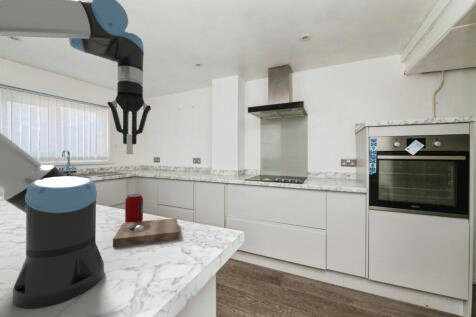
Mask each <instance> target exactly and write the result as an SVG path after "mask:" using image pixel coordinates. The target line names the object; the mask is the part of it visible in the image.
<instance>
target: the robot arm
mask: <svg viewBox="0 0 476 317" xmlns="http://www.w3.org/2000/svg"><path fill="white" fill-rule="evenodd" d="M128 25H129V16H128V14H127V12H126V10H125V8H124V7H123V5H121V3H120V2H118V1H117V0H92V1H91V2H90V1H85V0H0V37H21V38H22V37H23V38H25V37H26V38H27V37H28V38H49V39H50V38H56V39H68V41H69V42H68V43H69V45H70V46H71V48H73V49H74V50H78V51H81V52H82V53H85V54H90V55H92V56H96V57H100V58H103V59H106V60H109V61H112V62H116V63H117V83H116V84H117V86H116V87H117V92H116V93H117V94H116V97H115V98H114V100H112V101H107V105H108V107H109V109H110V111H111V114H112V117H113V118H112V119H113V121H114V125H115V129H116V131H117V133H121V134H122V143H123V144H124V145H126V155H133V154H134V145H137V141H138V139H137V136H138V135H139V134H140V135H141V134H143V131H144V129H145V125H146V121H147V118H148V114H149V112H150V111H151V110H152V107H151V105H148V104H146V102H145V100H144V86H143V84H144V56H145V53H144V43H143V40H142V39H141V37H139V35H137V34H135V33H133V32H128V31H126V30H127V27H128ZM118 106H119V107H120V109H121V110H122V125H121V121H120V120H121V119H120V117H119V112H118V110H117V108H118ZM141 108H142V110H143V111H142V115H141V117H140V122H139V125H138V111H140V110H141ZM130 112H131V134H129V114H130ZM0 188H1V189H2V190H3V191H4V196H3V199H4V201H6V202H7V203H8V204H11V205H12V206H14V207H15V208H17V209H18V210H20V211H22V212H23V213H25V214H26V217H25V220H26V221H25V222H26V223H25V224H26V226H25V227H26V228H25V230H26V231H25V232H26V233H25V234H26V235H25V239H26V240H25V259H24V262H23V264H22V266H21V269H20V271H19V273H18V276H17V278H16V280H15V283H14V285H13V287H12V302H13V305H15V306H16V307H19V308H24V309H35V308H42V307H48V306H51V305H55V304H60V303H62V302H65V301H68V300H70V299H72V297H73V298H75V297H77V296H79V295H81V294H83V293H86V291H88V290H90V289H92V288H93V287H94V286H96V285H97V284H98V283H99V282H100V281H101V279H102V278H103V277H104V275H105V263H104V262H105V261H104V259H103V257H102V255H101V252H100V250H99V247H98V245H97V241H96V235H97V234H96V233H97V231H96V227H97V226H96V225H97V221H96V220H97V197H98V192H97V186H96V182H95V181H93V180H92V179H90V178H87V177H80V176H67V174H65V173H63V171H62V170H60V169H58V168H57V167H56V166H55V165H53V164H52V165H51V164H50V165H48V164H46V165H45V164H41V163H40V162H39V161H38V160H37V159H35V158H34V157H33V156H31V155H30V154H29V153H27V151H25V150H24V149H22V148H21V147H20V146H19V145H18V144H16V143H15V142H13V141H12V140H11V139H9V137H7V136H6V135H5V134H3V133H2V132H1V131H0ZM67 299H68V300H67Z"/></svg>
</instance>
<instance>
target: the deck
mask: <svg viewBox="0 0 476 317" xmlns="http://www.w3.org/2000/svg"><path fill="white" fill-rule="evenodd" d="M138 225H142V226H143V227H144V229H142V230H139V231H134V229H135V227H136V226H138ZM179 236H180V230H179V224H178V220H177V217H175V218H167V219H166V218H164V219H163V218H162V219H153V220H152V219H151V220H143V221H140V222H128V223H125V222H123V223H122V224H121V225H120V227H119V228H118V230H117V231H116V233H115V235H114V237H113V239H112V248H115V247H124V246H132V245H141V244H148V243H155V242H164V241H165V242H166V241H172V240H179V239H180V237H179Z"/></svg>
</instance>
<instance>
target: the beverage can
mask: <svg viewBox="0 0 476 317" xmlns="http://www.w3.org/2000/svg"><path fill="white" fill-rule="evenodd" d="M124 203H125V204H124V211H125V212H124V223H128V222H140V221H144V198H143V196H142V194H141V193H131V194H127V196H126V198H125V202H124Z"/></svg>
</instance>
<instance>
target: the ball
mask: <svg viewBox="0 0 476 317" xmlns="http://www.w3.org/2000/svg"><path fill="white" fill-rule="evenodd" d="M142 229H144V227H143V226H142V225H138V226H136V227H135V229H134V231H139V230H142Z"/></svg>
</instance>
